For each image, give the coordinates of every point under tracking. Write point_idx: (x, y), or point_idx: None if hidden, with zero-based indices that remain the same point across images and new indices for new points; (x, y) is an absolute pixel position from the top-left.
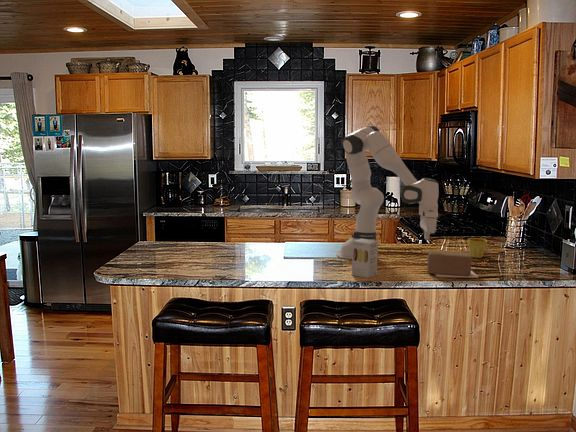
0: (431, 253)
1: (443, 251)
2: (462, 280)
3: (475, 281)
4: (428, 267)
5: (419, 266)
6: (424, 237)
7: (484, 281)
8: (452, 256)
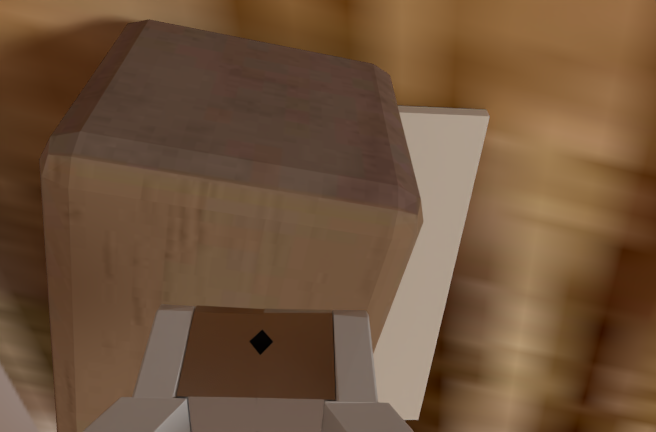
0: (86, 195)
1: None
2: (7, 288)
3: (12, 365)
4: (127, 43)
5: (622, 6)
6: (333, 334)
7: (39, 414)
8: (57, 416)
